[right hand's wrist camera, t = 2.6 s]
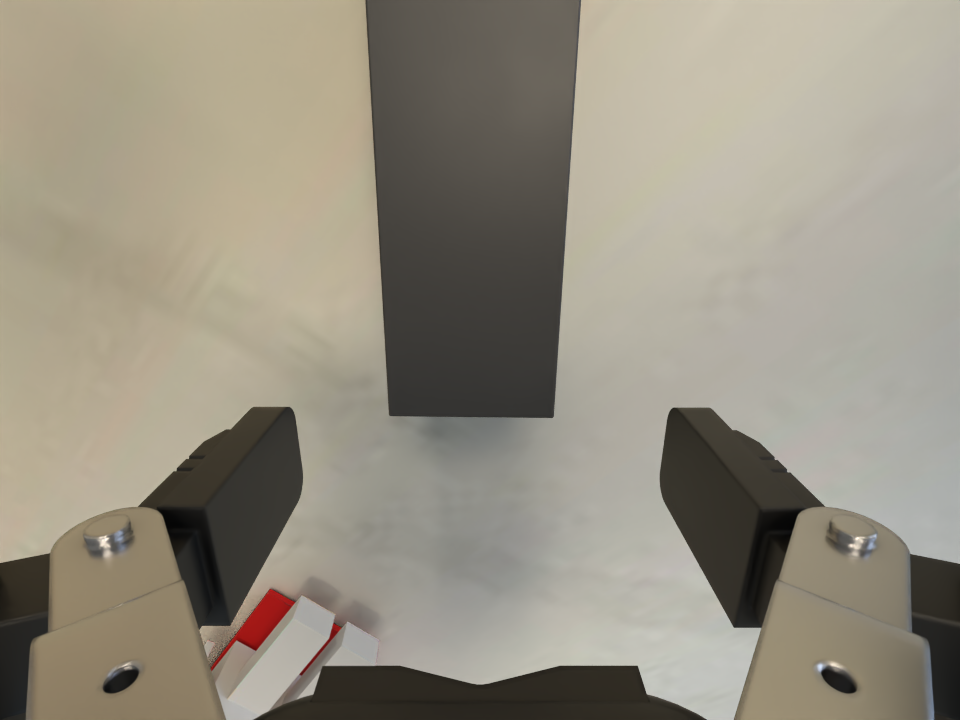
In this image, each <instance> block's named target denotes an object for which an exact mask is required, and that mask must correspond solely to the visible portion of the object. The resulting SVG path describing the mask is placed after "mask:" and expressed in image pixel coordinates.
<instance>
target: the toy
mask: <svg viewBox="0 0 960 720" xmlns="http://www.w3.org/2000/svg"><path fill="white" fill-rule="evenodd" d="M334 618H335V614H334V613H332V612H330V611H329V610H327V609H325V608H323V607H322V606H320V605H318V604H317V603H315V602H313V601H311V600H310V599H308V598H306V597H305V596H303V595H301V596H300V598H299V599H298V600H297V601H296V603H295V602H294V601H292V600H290V599H288V598H286V597H284V596H283V595H281V594H279V593H277V592H275V591H273V590H272V589H270V590H269V591H268V592H267V594H266V595H265V596H264V598H263V599H262V600H261V602H260V603H259V604H258V606H257V607H256V608H255V610H254V611H253V612H252V614H251V615H250V616H249V618H248V619H247V620H246V622H245V623H244V624H243V626H242V627H241V628H240V630H239V631H238V632H237V634H236V635H235V636H234V638H233V639H232V640H231V642H230V643H229V644H228V646H227V647H226V648H225V650H224V651H223V652H222V653H221V655H220V656H219V657H218V659H217V660H216V661H215V663H214V664H213V665H212V667H211V671H212V675H213V678H214V681H215V684H216V688H217V691H218V694H219V698H220V701H221V704H222V708H223V711H224V714H225V717H226V720H253V719H255V718H257V717H259V716H260V715H262V714H264V713H266V712H268V711H270V710H272V709H274V708H276V707H279V706H281V705H283V704H285V703H288V702H291V701H294V700H297V699H299V698H302V697H305V696H309V695H313V694H314V691H315V688H316V684H317V681H318V678H319V675H320V672H321V669H322V666H376V662H377V655H378V648H379V641H380V640H378V639H377V638H375V637H373V636H372V635H370V634H368V633H366V632H365V631H363V630H361V629H360V628H358V627H356V626H354V625H353V624H351V623H349V622H346V624H345V625H344V626H343V627H342V628H341V627H339V626H337V625H336V624H334V623H333V622H334ZM214 644H215V643H214V642H211V641H209V640H207V642H206V644H205V645H204V648H205V652H206V655H207V658H208V656H209V654H210V652H211V650H212V648H213V646H214Z"/></svg>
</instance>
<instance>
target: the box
mask: <svg viewBox="0 0 960 720" xmlns="http://www.w3.org/2000/svg"><path fill="white" fill-rule="evenodd" d="M580 7H581V0H366V17H367V35H368V53H369V70H370V88H371V105H372V123H373V141H374V158H375V176H376V193H377V211H378V228H379V246H380V264H381V281H382V299H383V316H384V334H385V352H386V369H387V387H388V404H389V415H390V416H429V417H523V418H553V417H554V404H555V389H556V373H557V358H558V343H559V328H560V312H561V297H562V282H563V266H564V251H565V236H566V221H567V205H568V190H569V175H570V160H571V144H572V129H573V114H574V98H575V83H576V68H577V53H578V37H579V22H580Z"/></svg>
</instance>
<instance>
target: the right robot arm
mask: <svg viewBox="0 0 960 720" xmlns="http://www.w3.org/2000/svg"><path fill="white" fill-rule="evenodd" d="M302 485H303V470H302V463H301V455H300V448H299V440H298V433H297V426H296V419H295V414H294V412H293V410H292V409H291V408H290V407H253V408H251V409H250V410H249V411H248V412H247V413H246V414H245V415H244V416H243V417H242V418H241V419H240V421H239V422H238V423H237V424H236V425H235V426H234V427H233V428H232V429H231V430H225V431H223V432H221V433H219V434H217V435H215V436H214V437H212V438H210V439H208V440H206V441H204V442H203V443H202V444H201V445H200V446H199V447H198V448H197V449H196V450H195V451H194V452H193V453H192V454H191V455H190V456H189V459H186V460H185V461H184V462H183V463H182V464H181V465H180V466H179V467H178V468H177V471H174V472H173V473H172V474H171V475H170V476H169V477H168V478H167V479H166V480H165V481H163V482H162V483H161V484H160V485H159V486H158V487H157V488H156V489H155V490H154V491H153V492H152V493H151V494H150V495H149V496H148V497H147V498H146V499H145V500H144V501H143V502H142V503H141V504H140V505H139V506H138V507H129V508H122V509H117V510H113V511H109V512H106V513H103V514H100V515H97V516H95V517H93V518H90V519H88V520H86V521H84V522H82V523H80V524H78V525H77V526H75V527H73V528H72V529H70V530H69V531H68V532H66V533H65V534H64V535H63V536H62V537H60V538H59V539H58V540H57V542H56V543H55V544H54V546H53V547H52V549H51V553H49V554H44V555H39V556H34V557H29V558H24V559H19V560H14V561H9V562H4V563H0V720H226V717H225V714H224V711H223V708H222V704H221V701H220V698H219V694H218V691H217V688H216V684H215V681H214V678H213V675H212V671H211V668H210V665H209V661H208V658H207V655H206V652H205V648H204V645H203V642H202V638H201V635H200V632H199V630H200V628H201V626H230V625H231V623H232V621H233V620H234V618H235V616H236V614H237V612H238V610H239V609H240V607H241V605H242V603H243V601H244V599H245V598H246V596H247V594H248V592H249V590H250V589H251V587H252V585H253V583H254V581H255V579H256V578H257V576H258V574H259V572H260V570H261V568H262V567H263V565H264V563H265V561H266V559H267V558H268V556H269V554H270V552H271V550H272V548H273V547H274V545H275V543H276V541H277V539H278V537H279V536H280V534H281V532H282V530H283V528H284V527H285V525H286V523H287V521H288V519H289V517H290V516H291V514H292V512H293V510H294V508H295V507H296V505H297V503H298V501H299V498H300V495H301V491H302ZM660 488H661V493H662V497H663V500H664V502H665V504H666V506H667V508H668V510H669V511H670V513H671V515H672V517H673V519H674V520H675V522H676V524H677V526H678V528H679V529H680V531H681V533H682V535H683V537H684V538H685V540H686V542H687V544H688V546H689V547H690V549H691V551H692V553H693V555H694V556H695V558H696V560H697V562H698V564H699V565H700V567H701V569H702V571H703V573H704V574H705V576H706V578H707V580H708V582H709V583H710V585H711V587H712V589H713V591H714V592H715V594H716V596H717V598H718V600H719V601H720V603H721V605H722V607H723V609H724V610H725V612H726V614H727V616H728V618H729V619H730V621H731V623H732V625H733V627H734V628H761V632H760V635H759V638H758V642H757V645H756V648H755V652H754V655H753V658H752V661H751V665H750V668H749V671H748V675H747V678H746V681H745V684H744V688H743V691H742V694H741V698H740V701H739V704H738V708H737V711H736V714H735V717H734V720H960V564H958V563H953V562H947V561H942V560H937V559H932V558H927V557H922V556H917V555H912V554H910V553H909V549H908V547H907V546H906V544H905V543H904V542H903V540H902V539H901V538H900V537H898V536H897V535H896V534H895V533H894V532H892V531H891V530H890V529H888V528H887V527H885V526H883V525H882V524H880V523H878V522H876V521H874V520H872V519H870V518H867V517H865V516H863V515H860V514H857V513H854V512H851V511H847V510H843V509H838V508H831V507H825V506H824V505H823V504H822V503H821V502H820V501H819V500H818V499H817V498H816V497H815V496H814V495H813V494H812V493H811V492H810V491H809V490H808V489H807V488H806V487H805V486H803V485H802V484H801V483H800V482H799V481H798V480H797V479H796V478H795V477H794V476H793V475H792V474H791V473H787V469H786V468H785V467H784V466H783V465H782V464H781V463H780V462H779V461H778V460H775V459H774V456H773V455H772V454H771V453H770V452H769V451H768V450H767V449H766V448H765V447H763V446H762V445H761V444H760V443H759V442H757V441H755V440H754V439H752V438H750V437H748V436H746V435H744V434H743V433H741V432H739V431H737V430H732V429H731V428H730V427H729V426H728V425H727V424H726V423H725V422H724V421H723V420H722V419H721V418H720V417H719V416H718V415H717V414H716V413H715V412H714V411H713V410H712V409H711V408H672V409H671V410H670V412H669V415H668V419H667V425H666V432H665V440H664V447H663V454H662V462H661V469H660ZM253 720H707V719H705V718H703V717H701V716H700V715H698V714H696V713H694V712H692V711H690V710H688V709H686V708H684V707H681V706H679V705H677V704H675V703H672V702H669V701H666V700H663V699H661V698H658V697H655V696H651V695H647V694H646V691H645V688H644V684H643V681H642V678H641V675H640V672H639V669H638V666H558V667H554V668H550V669H546V670H542V671H538V672H534V673H530V674H526V675H522V676H518V677H514V678H510V679H506V680H502V681H498V682H494V683H490V684H484V685H476V684H470V683H466V682H462V681H458V680H454V679H450V678H446V677H442V676H438V675H434V674H430V673H426V672H422V671H418V670H414V669H410V668H406V667H402V666H322V669H321V672H320V675H319V678H318V681H317V684H316V688H315V691H314V694H313V695H309V696H305V697H302V698H299V699H297V700H294V701H291V702H288V703H285V704H283V705H281V706H279V707H276V708H274V709H272V710H270V711H268V712H266V713H264V714H262V715H260V716H259V717H257V718H255V719H253Z"/></svg>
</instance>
